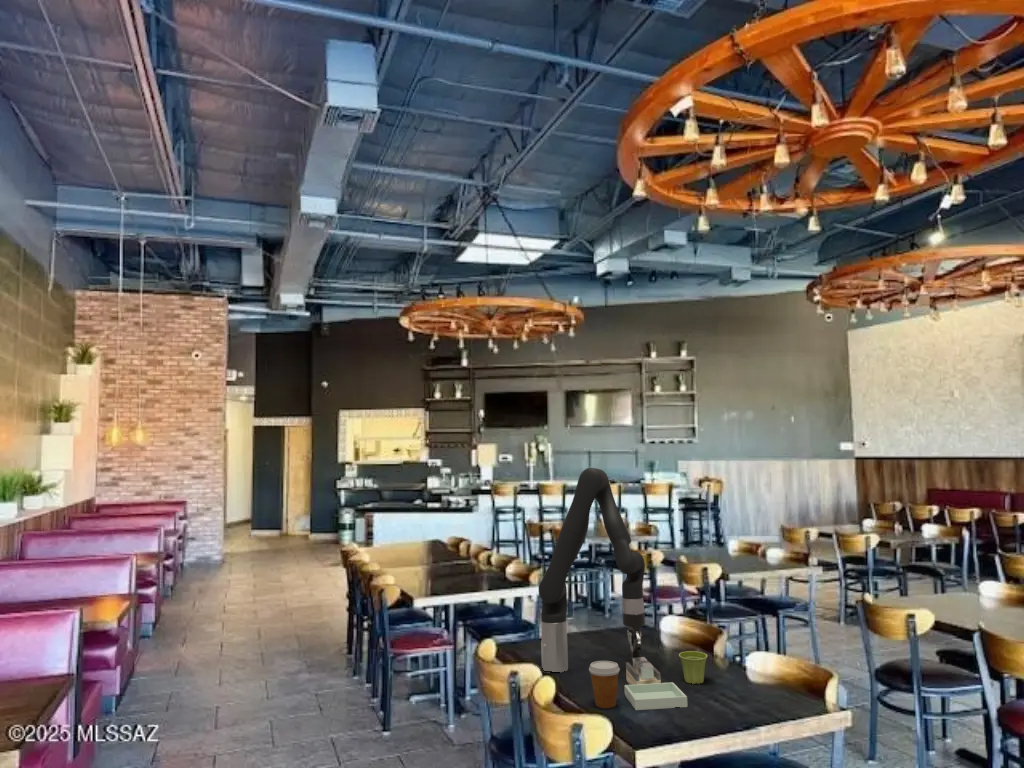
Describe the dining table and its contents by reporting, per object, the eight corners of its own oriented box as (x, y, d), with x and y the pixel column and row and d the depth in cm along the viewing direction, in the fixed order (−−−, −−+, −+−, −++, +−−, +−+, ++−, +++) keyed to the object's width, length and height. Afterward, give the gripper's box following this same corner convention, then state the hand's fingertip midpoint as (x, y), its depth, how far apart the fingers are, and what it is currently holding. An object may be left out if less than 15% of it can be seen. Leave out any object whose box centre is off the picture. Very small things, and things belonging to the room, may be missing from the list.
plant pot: (713, 680, 242) (712, 654, 243) (700, 688, 235) (698, 660, 236) (689, 675, 249) (687, 649, 250) (674, 682, 242) (673, 655, 243)
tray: (635, 710, 217) (635, 699, 217) (624, 694, 231) (624, 685, 231) (687, 707, 218) (687, 696, 219) (673, 691, 232) (673, 682, 233)
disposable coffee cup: (613, 712, 216) (611, 670, 217) (585, 707, 221) (583, 666, 222) (626, 702, 224) (624, 662, 225) (598, 697, 229) (596, 658, 230)
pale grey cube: (641, 679, 233) (641, 667, 233) (638, 676, 237) (637, 663, 237) (653, 679, 233) (653, 666, 234) (650, 675, 237) (649, 662, 238)
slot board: (637, 694, 231) (636, 674, 232) (626, 680, 245) (625, 662, 246) (661, 692, 232) (660, 673, 233) (649, 679, 246) (648, 661, 246)
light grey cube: (636, 673, 240) (635, 661, 240) (633, 669, 244) (632, 657, 244) (648, 672, 240) (647, 660, 240) (644, 669, 244) (644, 657, 244)
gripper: (618, 607, 257) (620, 657, 255) (627, 615, 244) (629, 668, 242) (638, 606, 257) (641, 656, 256) (649, 614, 244) (651, 667, 243)
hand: (635, 662), depth 249 cm, fingers closed
